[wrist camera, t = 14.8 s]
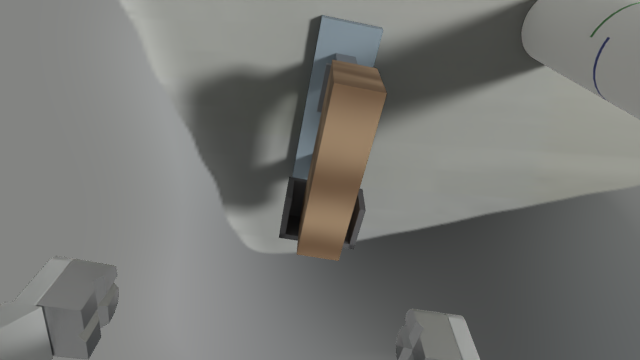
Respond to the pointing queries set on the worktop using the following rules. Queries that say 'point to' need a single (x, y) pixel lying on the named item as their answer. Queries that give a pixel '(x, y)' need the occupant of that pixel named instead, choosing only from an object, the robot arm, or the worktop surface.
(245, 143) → the worktop surface
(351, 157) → the rail
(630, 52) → the cylindrical container
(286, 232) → the stand
